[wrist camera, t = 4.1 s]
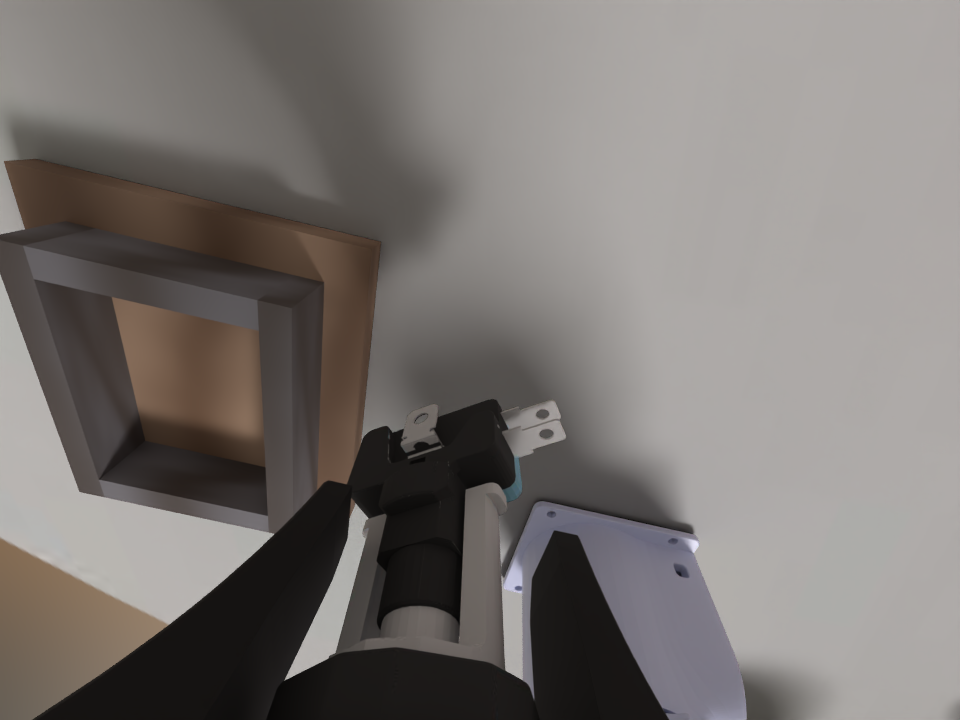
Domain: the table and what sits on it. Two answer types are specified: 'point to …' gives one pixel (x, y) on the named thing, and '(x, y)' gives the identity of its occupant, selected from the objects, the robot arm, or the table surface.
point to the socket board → (191, 343)
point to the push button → (428, 574)
